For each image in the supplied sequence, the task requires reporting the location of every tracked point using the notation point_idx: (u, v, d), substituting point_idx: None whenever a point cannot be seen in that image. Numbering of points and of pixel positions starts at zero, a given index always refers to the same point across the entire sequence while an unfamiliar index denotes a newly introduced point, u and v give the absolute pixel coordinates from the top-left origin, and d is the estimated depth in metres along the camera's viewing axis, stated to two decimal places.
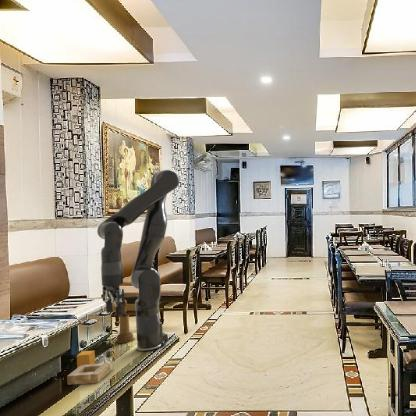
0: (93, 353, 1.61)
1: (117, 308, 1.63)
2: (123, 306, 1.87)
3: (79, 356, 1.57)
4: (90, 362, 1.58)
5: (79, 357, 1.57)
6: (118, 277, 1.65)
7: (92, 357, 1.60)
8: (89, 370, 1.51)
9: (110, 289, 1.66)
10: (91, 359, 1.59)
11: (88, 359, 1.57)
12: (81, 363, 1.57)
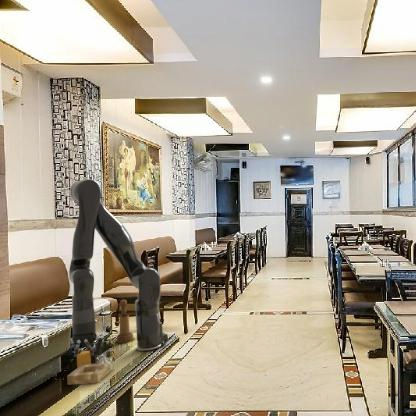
0: None
1: (94, 357, 1.59)
2: (123, 306, 1.87)
3: (79, 356, 1.57)
4: (90, 362, 1.58)
5: (79, 357, 1.57)
6: None
7: None
8: (89, 370, 1.51)
9: (84, 337, 1.58)
10: None
11: (88, 359, 1.57)
12: (81, 363, 1.57)
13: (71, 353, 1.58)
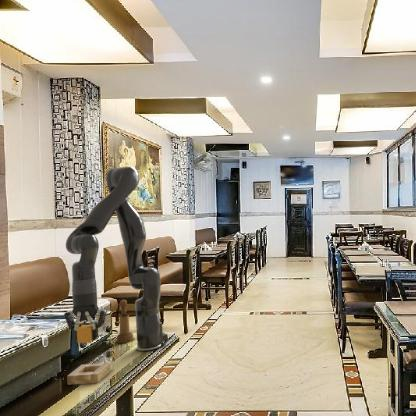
0: None
1: (95, 331, 1.48)
2: (123, 306, 1.87)
3: (80, 330, 1.46)
4: (91, 336, 1.47)
5: (79, 331, 1.46)
6: (96, 294, 1.49)
7: None
8: (89, 370, 1.51)
9: (85, 309, 1.47)
10: None
11: (89, 333, 1.47)
12: (81, 337, 1.46)
13: (71, 326, 1.47)
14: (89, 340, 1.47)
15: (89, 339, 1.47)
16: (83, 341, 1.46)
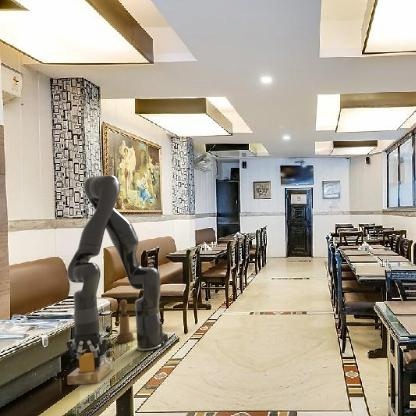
0: None
1: (97, 359, 1.48)
2: (123, 306, 1.87)
3: (82, 359, 1.46)
4: (93, 365, 1.47)
5: (82, 360, 1.46)
6: (98, 322, 1.49)
7: None
8: None
9: (87, 338, 1.47)
10: None
11: (91, 362, 1.46)
12: (84, 366, 1.46)
13: (73, 355, 1.47)
14: (91, 369, 1.46)
15: (91, 368, 1.46)
16: (85, 370, 1.46)
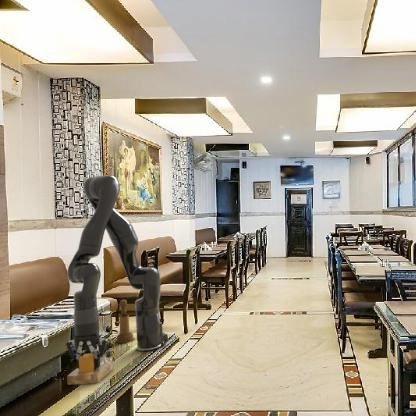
0: None
1: (97, 360, 1.48)
2: (123, 306, 1.87)
3: (82, 359, 1.46)
4: (93, 366, 1.47)
5: (81, 360, 1.46)
6: (98, 323, 1.49)
7: None
8: None
9: (87, 339, 1.47)
10: None
11: (91, 362, 1.46)
12: (83, 367, 1.46)
13: (73, 356, 1.47)
14: (91, 370, 1.46)
15: (91, 369, 1.46)
16: (85, 371, 1.46)
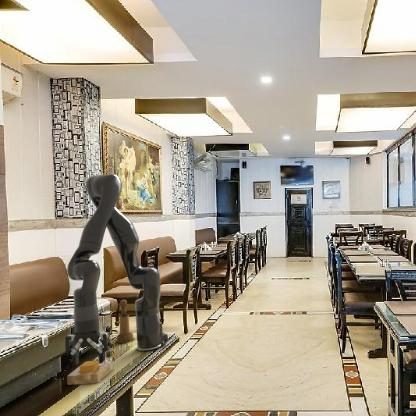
0: (97, 363, 1.50)
1: (102, 354, 1.48)
2: (123, 306, 1.87)
3: (83, 367, 1.46)
4: None
5: (82, 368, 1.46)
6: (98, 320, 1.49)
7: (96, 368, 1.49)
8: None
9: (87, 336, 1.47)
10: None
11: (92, 370, 1.47)
12: None
13: (67, 351, 1.47)
14: None
15: None
16: None
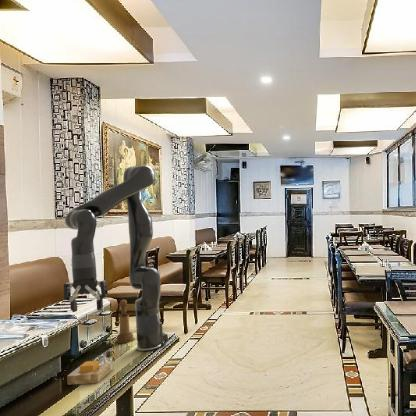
0: (97, 363, 1.50)
1: (99, 301, 1.52)
2: (123, 306, 1.87)
3: (83, 367, 1.46)
4: None
5: (82, 368, 1.46)
6: (95, 268, 1.53)
7: (96, 368, 1.49)
8: None
9: (85, 283, 1.51)
10: None
11: (92, 370, 1.47)
12: None
13: (66, 298, 1.51)
14: None
15: None
16: None
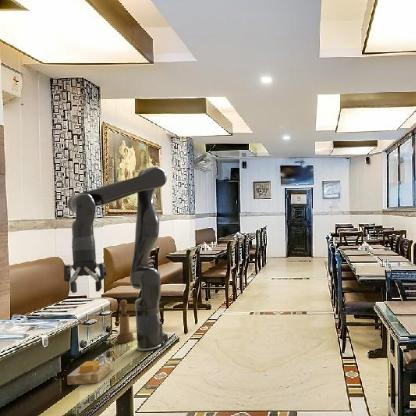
0: (97, 363, 1.50)
1: (98, 283, 1.57)
2: (123, 306, 1.87)
3: (83, 367, 1.46)
4: None
5: (82, 368, 1.46)
6: None
7: (96, 368, 1.49)
8: None
9: (84, 265, 1.56)
10: None
11: (92, 370, 1.47)
12: None
13: (66, 279, 1.56)
14: None
15: None
16: None
